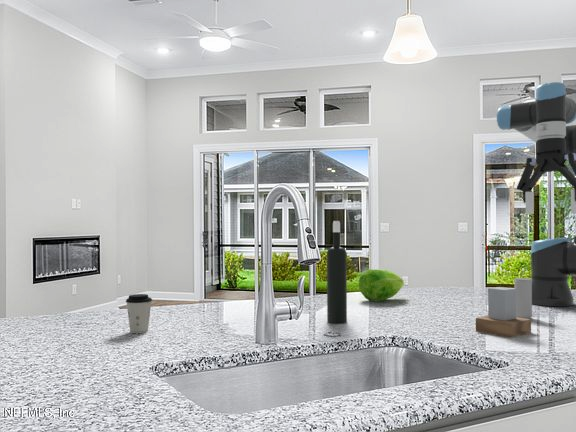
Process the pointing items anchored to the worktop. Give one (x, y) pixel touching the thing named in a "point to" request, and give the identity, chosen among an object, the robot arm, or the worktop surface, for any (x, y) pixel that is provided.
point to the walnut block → (503, 326)
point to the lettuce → (379, 284)
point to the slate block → (502, 303)
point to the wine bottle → (336, 280)
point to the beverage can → (523, 297)
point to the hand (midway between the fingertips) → (551, 213)
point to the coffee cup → (138, 312)
